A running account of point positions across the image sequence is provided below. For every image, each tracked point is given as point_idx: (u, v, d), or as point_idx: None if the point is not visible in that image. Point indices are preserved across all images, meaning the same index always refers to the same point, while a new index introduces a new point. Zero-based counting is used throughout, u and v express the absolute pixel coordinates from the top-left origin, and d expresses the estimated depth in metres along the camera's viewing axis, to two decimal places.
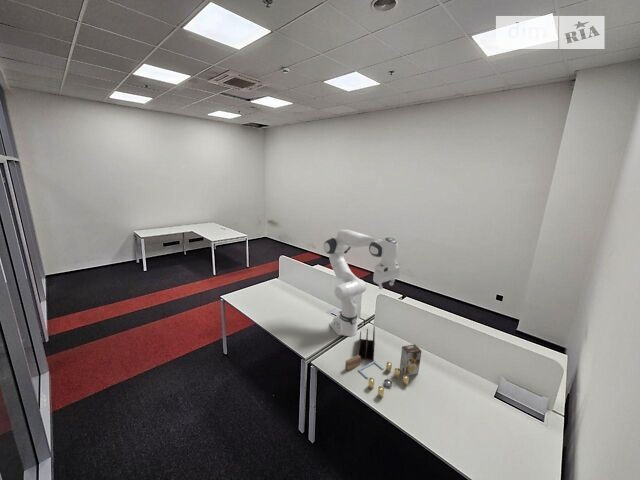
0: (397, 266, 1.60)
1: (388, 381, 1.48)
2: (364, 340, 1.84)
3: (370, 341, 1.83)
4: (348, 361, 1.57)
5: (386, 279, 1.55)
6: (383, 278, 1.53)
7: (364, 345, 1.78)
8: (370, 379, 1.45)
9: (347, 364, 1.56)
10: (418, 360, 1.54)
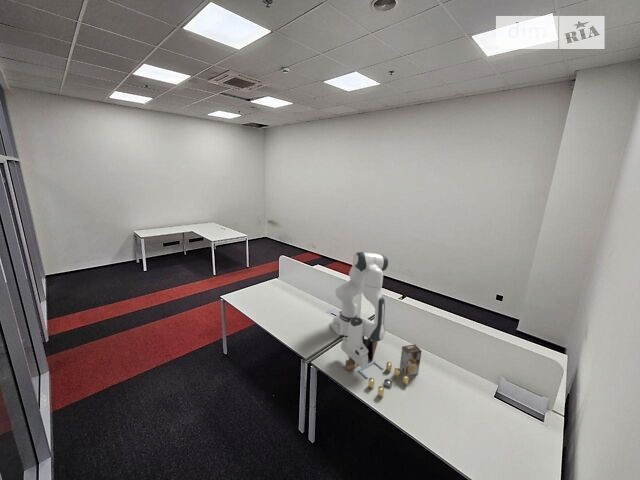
0: None
1: (388, 381, 1.48)
2: (367, 340, 1.84)
3: (373, 342, 1.82)
4: (348, 361, 1.56)
5: None
6: None
7: (366, 345, 1.79)
8: (370, 379, 1.45)
9: (347, 364, 1.56)
10: (418, 360, 1.54)
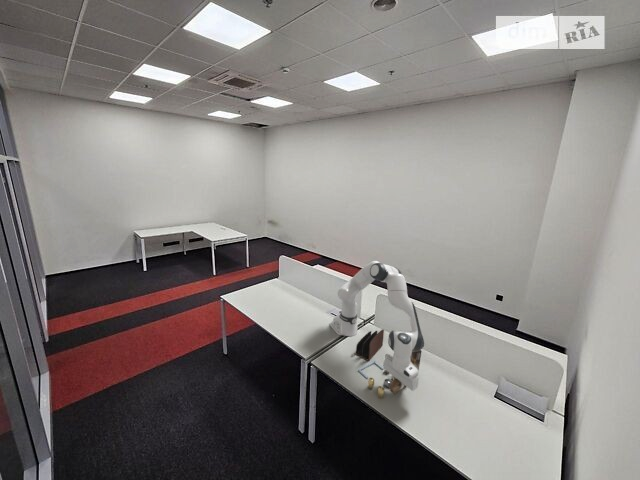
0: None
1: (388, 381, 1.48)
2: None
3: None
4: (394, 382, 1.39)
5: None
6: None
7: None
8: (370, 379, 1.45)
9: (393, 385, 1.38)
10: (418, 360, 1.54)
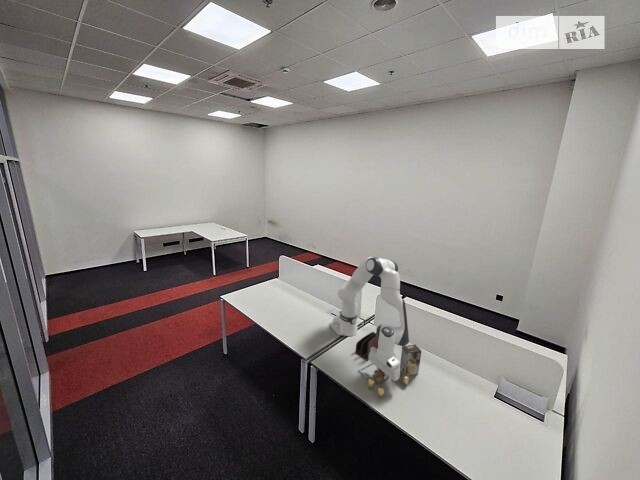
0: None
1: None
2: None
3: None
4: (377, 373, 1.48)
5: None
6: None
7: None
8: (370, 379, 1.45)
9: (376, 376, 1.47)
10: (418, 360, 1.54)
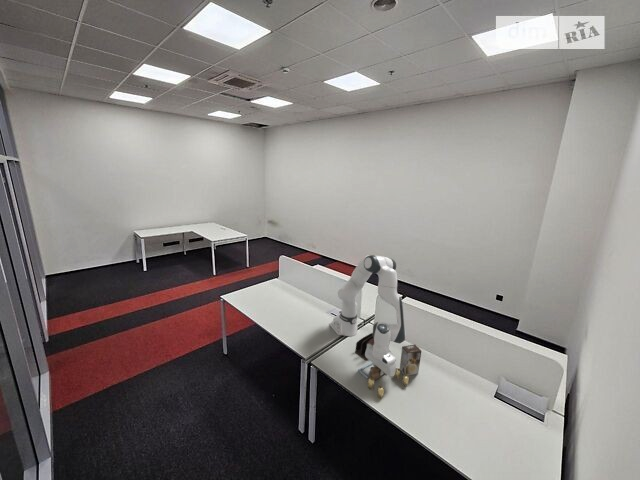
0: None
1: None
2: None
3: None
4: (374, 369, 1.50)
5: None
6: None
7: None
8: (370, 379, 1.45)
9: (373, 372, 1.50)
10: (418, 360, 1.54)
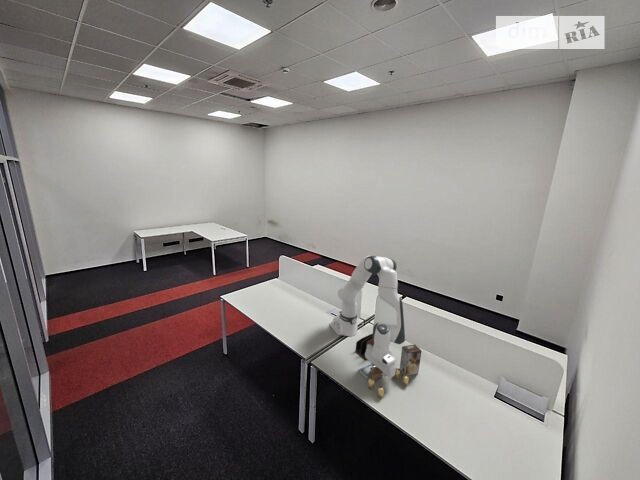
0: None
1: None
2: None
3: None
4: (374, 370, 1.50)
5: None
6: None
7: None
8: (370, 379, 1.45)
9: (373, 373, 1.50)
10: (418, 360, 1.54)
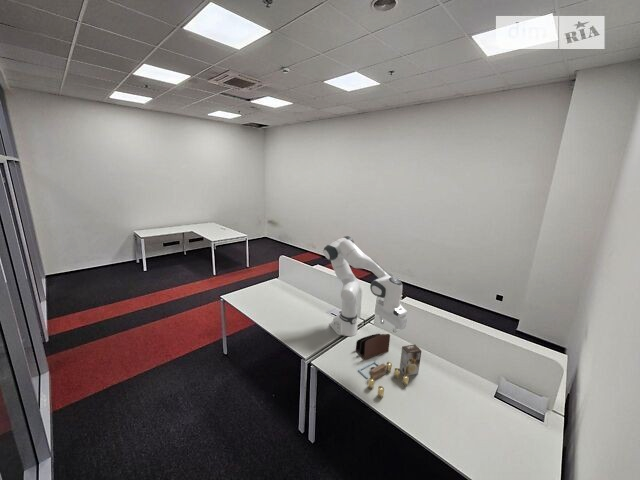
0: None
1: None
2: None
3: None
4: (374, 370, 1.50)
5: None
6: None
7: None
8: (370, 379, 1.45)
9: (373, 373, 1.50)
10: (418, 360, 1.54)
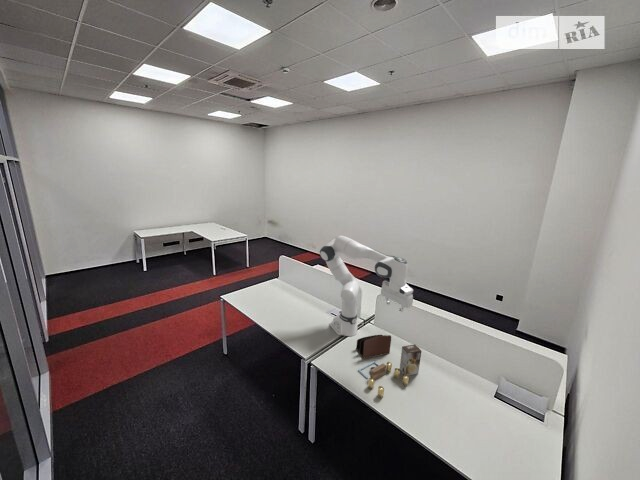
0: None
1: None
2: None
3: None
4: (374, 370, 1.50)
5: None
6: None
7: None
8: (370, 379, 1.45)
9: (373, 373, 1.50)
10: (418, 360, 1.54)
